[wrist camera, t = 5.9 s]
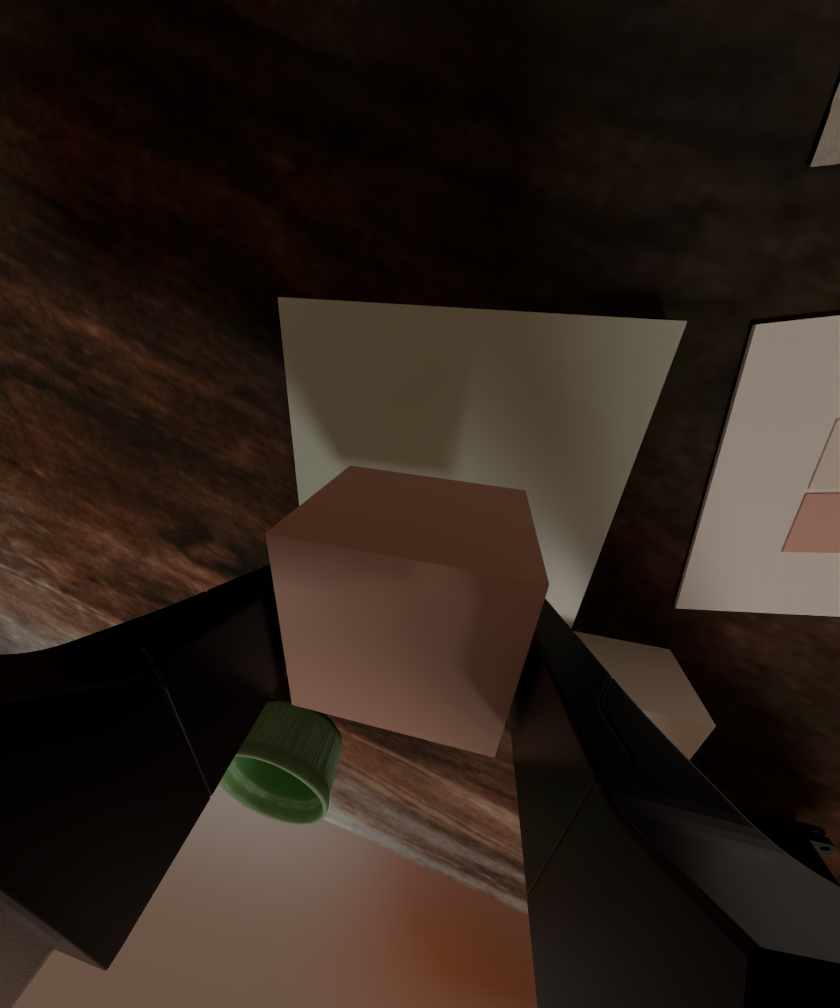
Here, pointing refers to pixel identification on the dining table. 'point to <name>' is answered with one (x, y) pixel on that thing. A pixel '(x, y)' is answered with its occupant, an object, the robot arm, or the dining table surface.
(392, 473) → the terracotta brick
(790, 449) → the page
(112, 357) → the dining table surface
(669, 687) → the cream brick
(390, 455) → the baseplate
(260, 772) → the ramekin
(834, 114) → the condiment
